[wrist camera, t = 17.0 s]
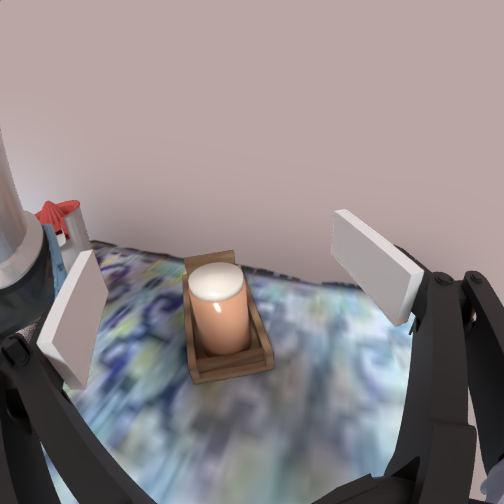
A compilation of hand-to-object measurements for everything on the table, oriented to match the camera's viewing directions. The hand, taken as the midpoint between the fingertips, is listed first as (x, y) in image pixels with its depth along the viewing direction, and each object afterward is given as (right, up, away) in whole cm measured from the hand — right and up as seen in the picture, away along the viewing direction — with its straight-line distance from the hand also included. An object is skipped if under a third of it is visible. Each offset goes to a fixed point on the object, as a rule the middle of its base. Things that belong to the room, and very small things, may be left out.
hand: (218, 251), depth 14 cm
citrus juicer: (-42, -6, +45) cm, 62 cm away
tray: (-3, -12, +30) cm, 33 cm away
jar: (-2, -13, +25) cm, 29 cm away
